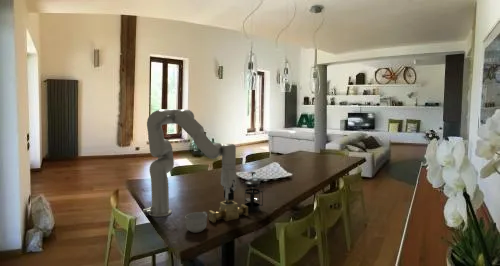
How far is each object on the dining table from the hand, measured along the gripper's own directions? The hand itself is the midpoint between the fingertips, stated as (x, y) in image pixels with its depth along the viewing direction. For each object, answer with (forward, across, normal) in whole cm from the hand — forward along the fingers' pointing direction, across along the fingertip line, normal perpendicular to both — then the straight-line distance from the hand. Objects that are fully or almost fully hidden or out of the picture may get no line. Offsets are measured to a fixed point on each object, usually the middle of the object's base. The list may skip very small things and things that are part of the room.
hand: (228, 198), depth 186 cm
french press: (+11, -4, +19) cm, 22 cm away
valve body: (+11, 0, 0) cm, 11 cm away
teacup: (+11, +7, -22) cm, 25 cm away
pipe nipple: (+4, 0, 0) cm, 4 cm away
